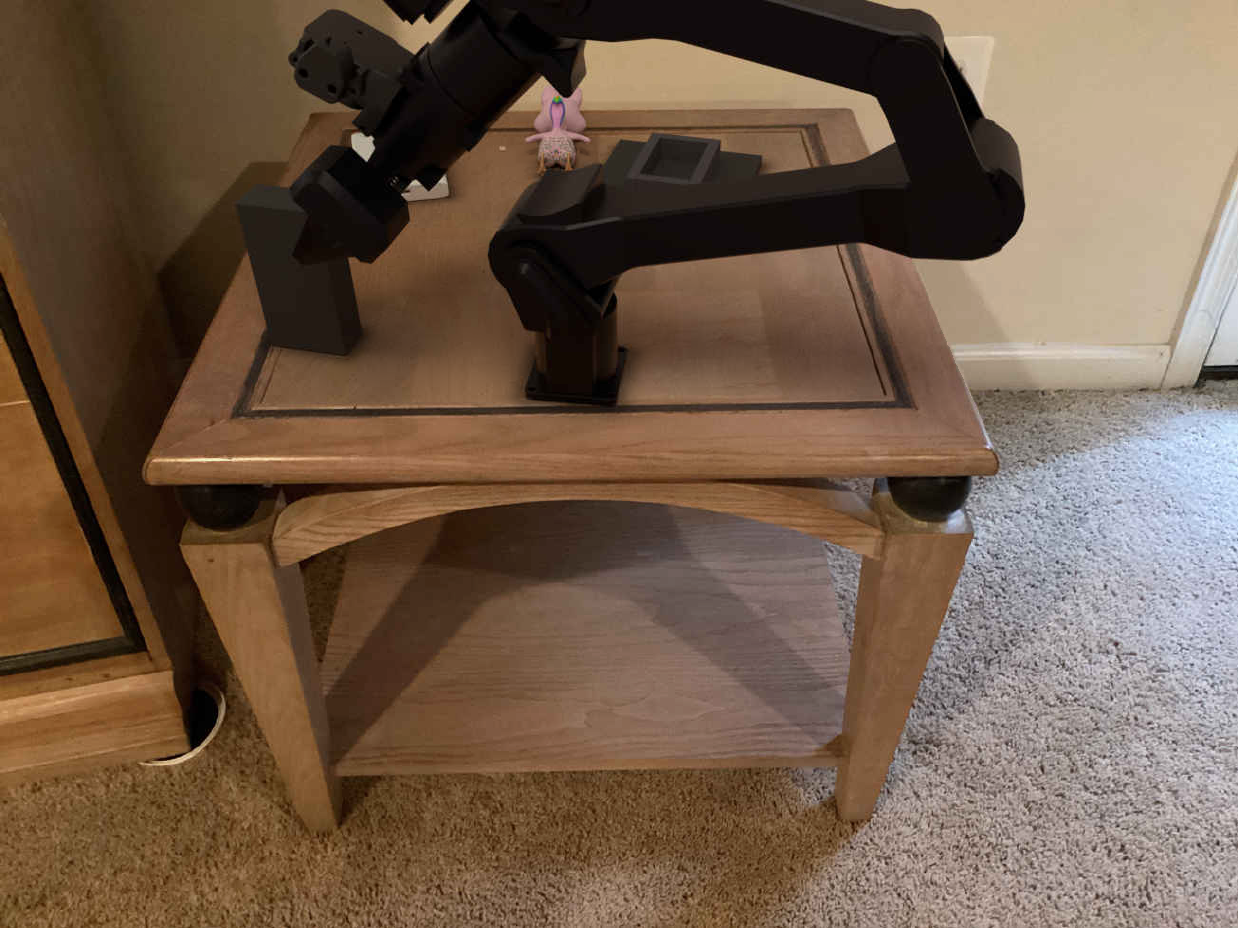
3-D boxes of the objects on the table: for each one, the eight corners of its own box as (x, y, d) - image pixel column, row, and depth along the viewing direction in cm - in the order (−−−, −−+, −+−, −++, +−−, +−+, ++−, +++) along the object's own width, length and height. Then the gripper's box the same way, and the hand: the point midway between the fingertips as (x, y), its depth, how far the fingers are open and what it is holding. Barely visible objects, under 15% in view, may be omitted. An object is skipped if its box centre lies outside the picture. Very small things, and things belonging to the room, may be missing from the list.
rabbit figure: (589, 189, 101) (594, 102, 111) (587, 134, 96) (593, 48, 106) (523, 189, 101) (534, 102, 111) (518, 133, 97) (530, 47, 106)
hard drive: (350, 133, 104) (354, 189, 95) (435, 125, 105) (447, 180, 96) (353, 149, 105) (358, 206, 96) (436, 141, 106) (449, 197, 97)
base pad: (761, 165, 102) (764, 134, 100) (734, 234, 92) (737, 202, 90) (620, 148, 105) (620, 119, 103) (578, 214, 95) (577, 182, 93)
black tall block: (289, 323, 81) (256, 183, 74) (363, 333, 80) (336, 192, 73) (271, 345, 79) (234, 203, 72) (346, 356, 78) (317, 212, 71)
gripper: (423, -72, 68) (297, 85, 77) (288, 26, 54) (154, 203, 63) (547, 63, 72) (413, 197, 81) (451, 187, 58) (303, 331, 67)
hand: (328, 226), depth 73 cm, fingers open, 9 cm apart
